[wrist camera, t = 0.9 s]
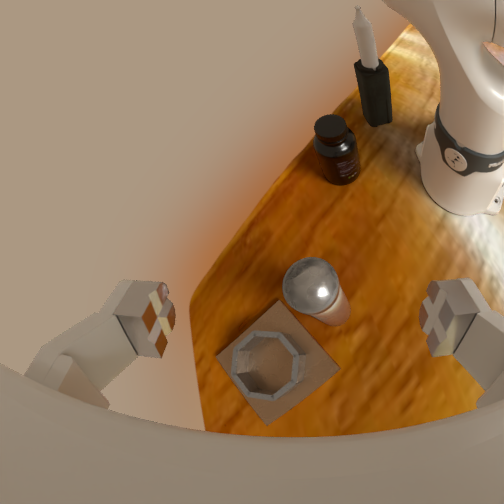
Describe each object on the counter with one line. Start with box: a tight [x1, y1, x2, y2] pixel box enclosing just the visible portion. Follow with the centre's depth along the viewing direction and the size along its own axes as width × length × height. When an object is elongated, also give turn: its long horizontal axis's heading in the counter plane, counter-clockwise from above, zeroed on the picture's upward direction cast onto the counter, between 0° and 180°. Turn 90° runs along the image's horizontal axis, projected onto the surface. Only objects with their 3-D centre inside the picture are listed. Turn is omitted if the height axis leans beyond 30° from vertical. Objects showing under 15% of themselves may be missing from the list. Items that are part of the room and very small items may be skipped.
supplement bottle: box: [313, 114, 360, 185], centre depth 41 cm, size 7×7×12 cm
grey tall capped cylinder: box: [282, 257, 351, 326], centre depth 32 cm, size 5×5×18 cm
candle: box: [353, 5, 392, 127], centre depth 36 cm, size 5×5×25 cm
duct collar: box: [216, 300, 341, 425], centre depth 38 cm, size 14×14×5 cm
